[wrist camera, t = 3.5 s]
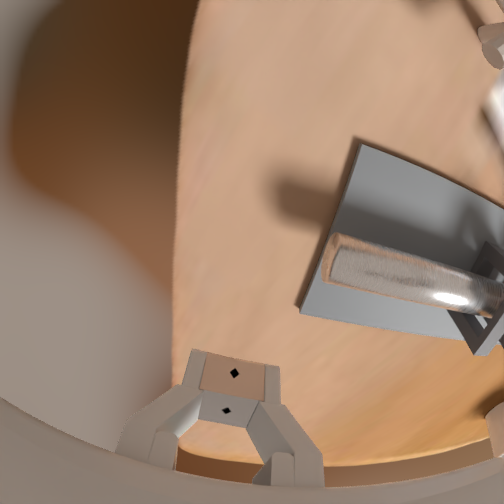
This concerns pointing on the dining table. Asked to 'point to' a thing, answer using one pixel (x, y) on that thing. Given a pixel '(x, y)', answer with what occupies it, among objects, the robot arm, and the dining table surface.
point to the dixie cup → (496, 429)
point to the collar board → (414, 247)
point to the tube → (407, 277)
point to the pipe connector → (493, 41)
